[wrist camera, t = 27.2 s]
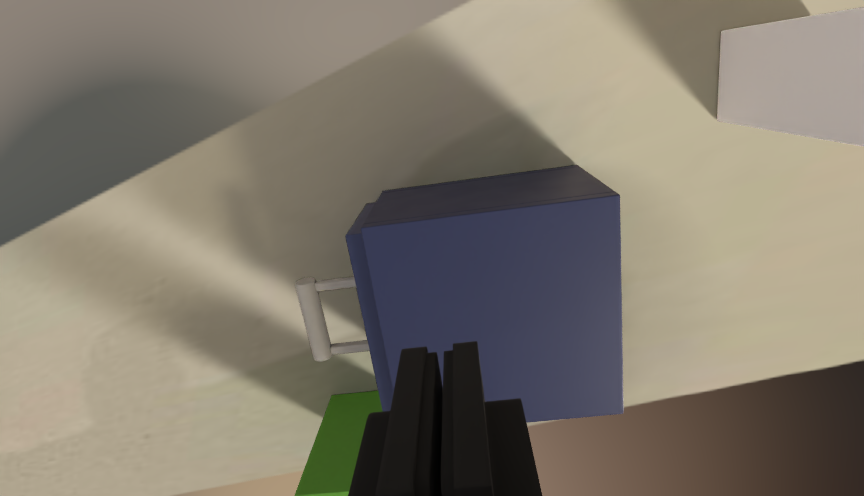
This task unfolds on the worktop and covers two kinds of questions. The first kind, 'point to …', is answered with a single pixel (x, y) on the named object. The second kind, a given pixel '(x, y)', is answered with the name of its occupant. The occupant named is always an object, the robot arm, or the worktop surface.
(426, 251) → the cabinet
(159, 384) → the worktop surface
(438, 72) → the worktop surface
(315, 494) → the green rectangular box
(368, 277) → the drawer
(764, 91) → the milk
